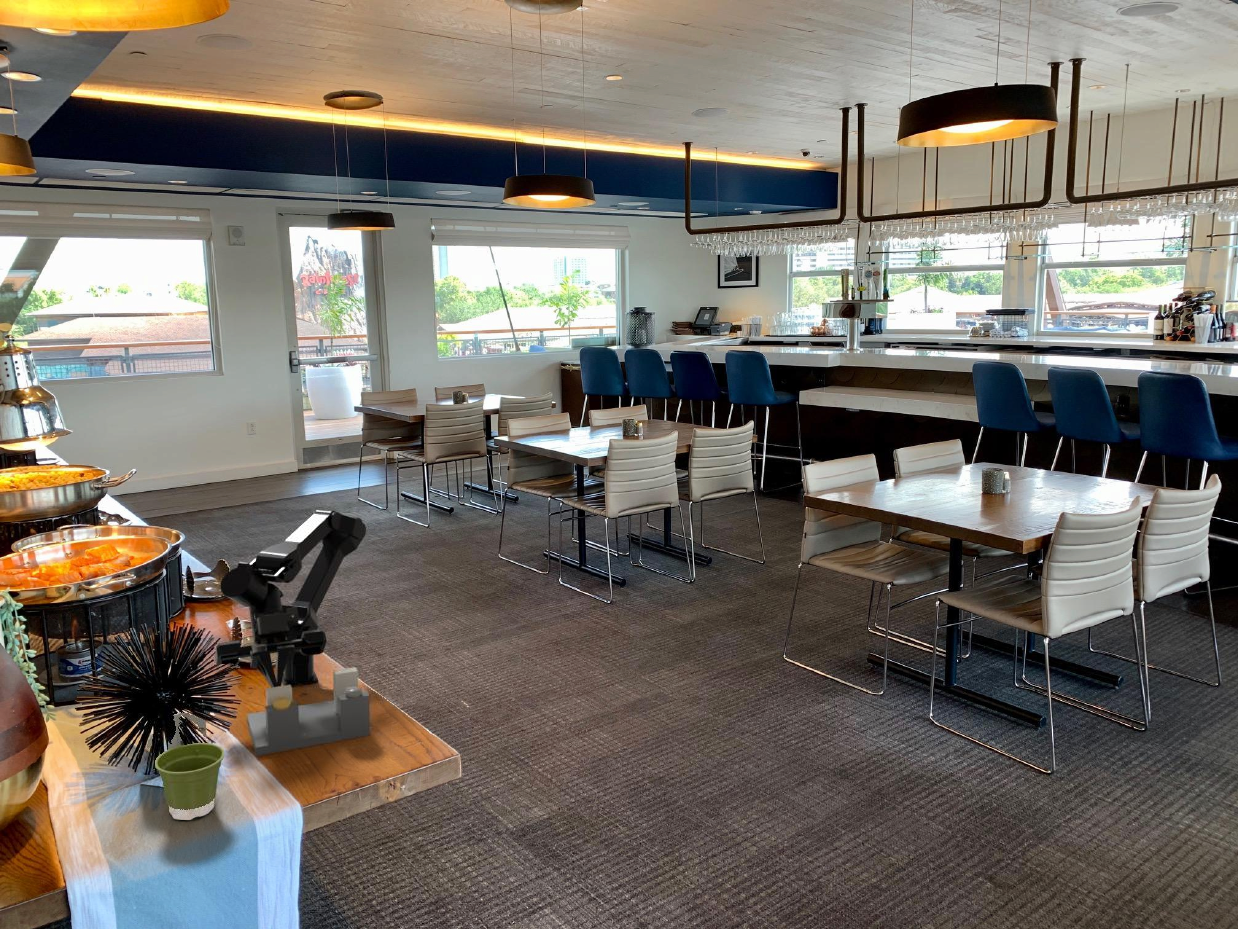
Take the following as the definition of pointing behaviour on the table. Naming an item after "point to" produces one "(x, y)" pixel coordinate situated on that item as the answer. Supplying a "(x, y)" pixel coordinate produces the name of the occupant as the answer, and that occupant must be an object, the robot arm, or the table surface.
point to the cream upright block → (343, 682)
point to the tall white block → (278, 693)
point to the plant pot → (190, 774)
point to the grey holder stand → (309, 722)
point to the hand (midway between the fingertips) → (277, 692)
